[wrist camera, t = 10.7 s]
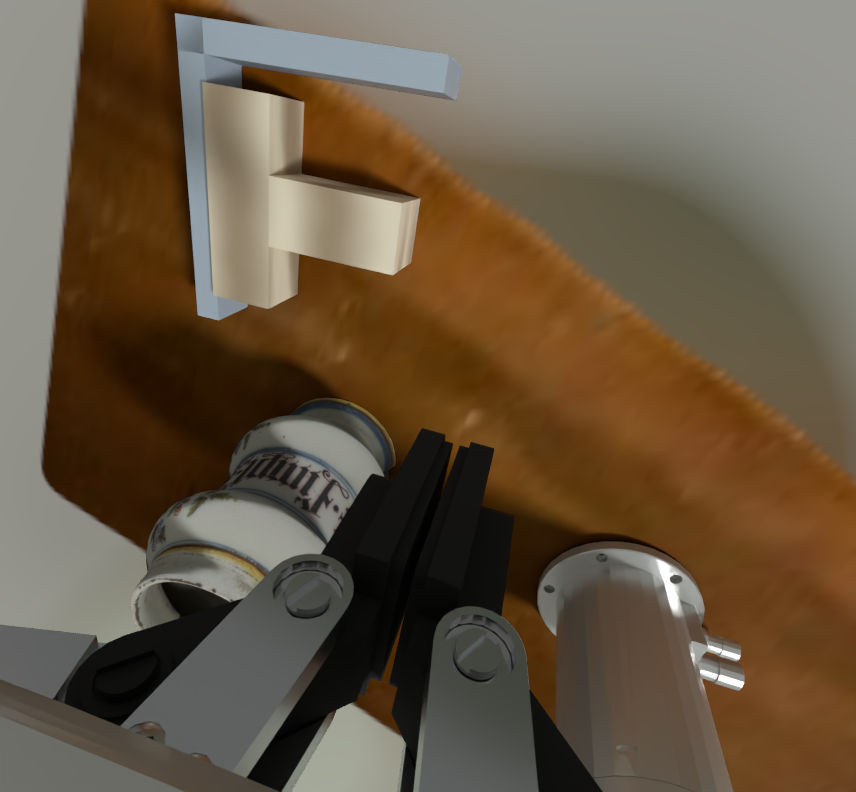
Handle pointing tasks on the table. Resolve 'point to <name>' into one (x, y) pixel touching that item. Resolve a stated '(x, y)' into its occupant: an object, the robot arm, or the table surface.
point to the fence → (290, 53)
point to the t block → (286, 203)
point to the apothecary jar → (261, 509)
